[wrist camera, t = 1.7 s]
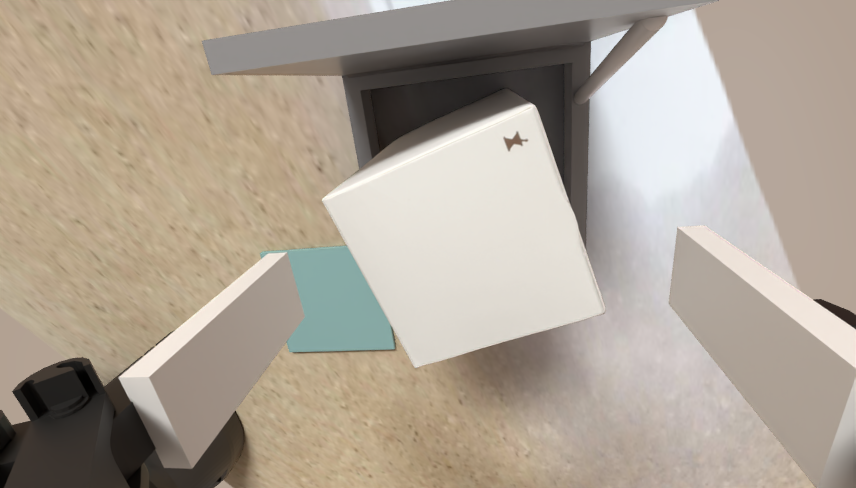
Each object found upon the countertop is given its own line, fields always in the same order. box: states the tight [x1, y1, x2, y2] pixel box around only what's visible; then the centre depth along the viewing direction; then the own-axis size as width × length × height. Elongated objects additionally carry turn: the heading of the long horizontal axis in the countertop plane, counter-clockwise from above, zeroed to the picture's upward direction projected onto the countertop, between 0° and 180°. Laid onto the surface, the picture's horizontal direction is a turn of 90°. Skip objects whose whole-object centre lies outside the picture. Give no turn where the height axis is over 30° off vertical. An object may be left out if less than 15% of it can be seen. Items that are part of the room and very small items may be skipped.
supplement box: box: [322, 88, 606, 368], centre depth 23 cm, size 9×9×15 cm
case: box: [202, 0, 719, 249], centre depth 22 cm, size 15×16×16 cm
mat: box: [260, 246, 396, 352], centre depth 35 cm, size 10×10×1 cm
